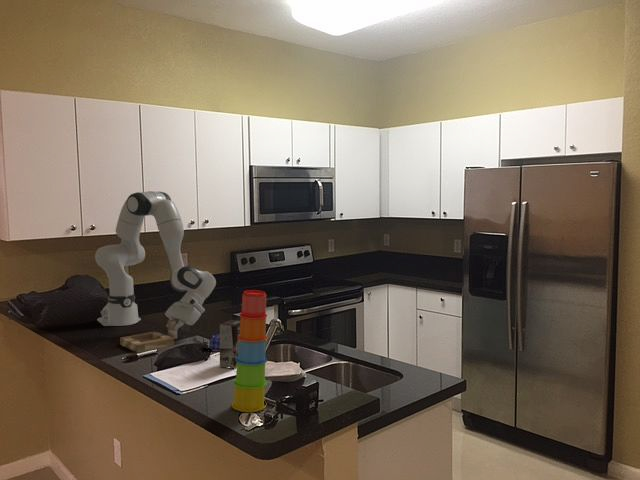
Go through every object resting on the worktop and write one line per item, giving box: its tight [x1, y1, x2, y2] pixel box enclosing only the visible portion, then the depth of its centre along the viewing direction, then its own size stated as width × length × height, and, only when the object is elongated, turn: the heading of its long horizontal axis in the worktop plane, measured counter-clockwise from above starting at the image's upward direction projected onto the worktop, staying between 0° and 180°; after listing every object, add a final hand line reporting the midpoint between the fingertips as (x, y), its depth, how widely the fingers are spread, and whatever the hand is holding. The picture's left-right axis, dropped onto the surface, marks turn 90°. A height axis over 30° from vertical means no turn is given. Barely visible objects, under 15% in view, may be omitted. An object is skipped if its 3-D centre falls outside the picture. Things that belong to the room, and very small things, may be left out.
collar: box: [119, 330, 175, 354], centre depth 225 cm, size 16×16×3 cm
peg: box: [167, 319, 178, 340], centre depth 235 cm, size 4×4×8 cm
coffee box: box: [219, 319, 241, 369], centre depth 198 cm, size 9×6×16 cm
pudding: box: [207, 334, 220, 352], centre depth 221 cm, size 12×12×5 cm
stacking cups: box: [231, 289, 268, 413], centre depth 158 cm, size 10×10×35 cm
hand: (171, 328), depth 235 cm, fingers closed on peg, 4 cm apart
